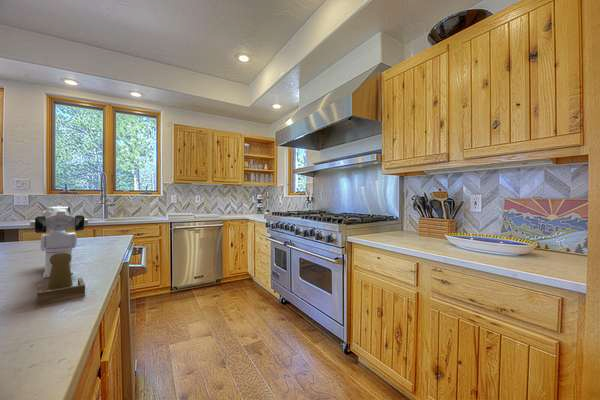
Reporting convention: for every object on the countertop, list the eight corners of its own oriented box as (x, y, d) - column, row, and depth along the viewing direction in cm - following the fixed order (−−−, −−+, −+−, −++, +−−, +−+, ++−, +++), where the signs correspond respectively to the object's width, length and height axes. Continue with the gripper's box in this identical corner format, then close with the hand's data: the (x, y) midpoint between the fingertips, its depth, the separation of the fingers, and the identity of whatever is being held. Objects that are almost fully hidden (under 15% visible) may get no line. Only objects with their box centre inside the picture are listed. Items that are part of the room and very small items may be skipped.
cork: (56, 291, 79) (57, 256, 79) (42, 289, 80) (42, 255, 80) (77, 284, 85) (78, 252, 85) (63, 283, 86) (64, 251, 86)
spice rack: (37, 295, 75) (38, 284, 75) (81, 287, 82) (81, 277, 82) (36, 305, 68) (37, 293, 68) (84, 296, 75) (85, 285, 75)
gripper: (31, 208, 85) (28, 217, 76) (86, 208, 96) (90, 216, 86) (30, 228, 86) (28, 240, 77) (85, 226, 96) (89, 235, 87)
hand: (61, 228), depth 82 cm, fingers open, 7 cm apart
